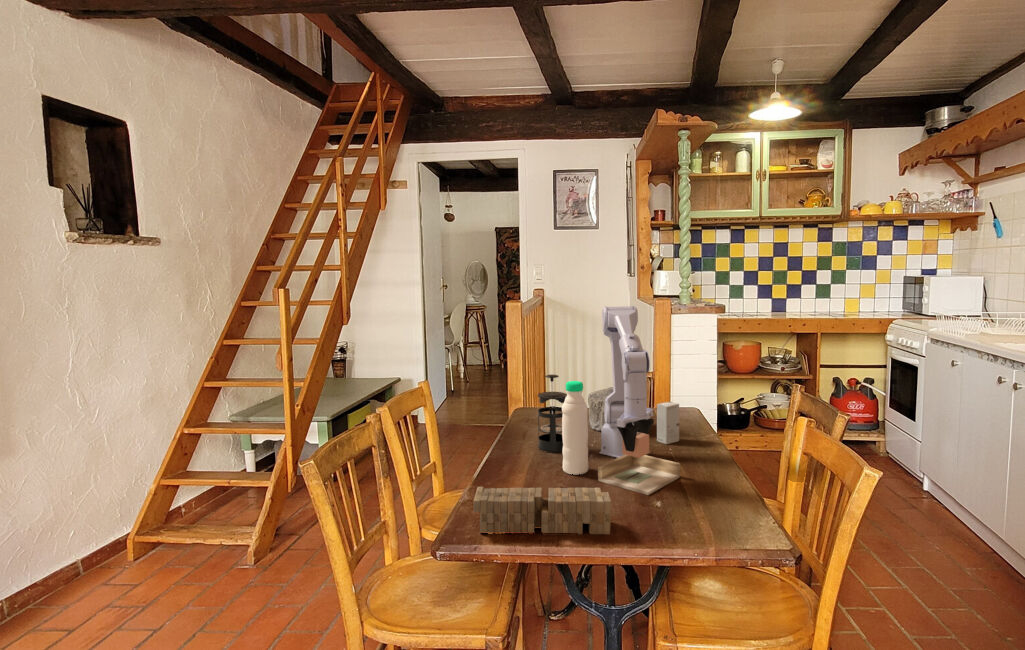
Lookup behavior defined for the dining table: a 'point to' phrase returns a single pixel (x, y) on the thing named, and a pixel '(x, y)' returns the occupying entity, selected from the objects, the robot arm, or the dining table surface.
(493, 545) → the dining table surface
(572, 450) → the milk bottle
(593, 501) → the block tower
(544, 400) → the french press
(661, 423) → the skincare box
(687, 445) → the dining table surface
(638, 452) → the terracotta cube
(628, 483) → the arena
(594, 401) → the grey brown chunky block
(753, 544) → the dining table surface
